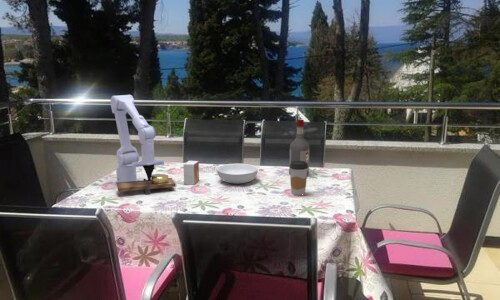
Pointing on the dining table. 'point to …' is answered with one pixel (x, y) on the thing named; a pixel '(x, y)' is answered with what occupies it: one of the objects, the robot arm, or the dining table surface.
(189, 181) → the small box
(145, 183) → the beam
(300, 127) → the liquor
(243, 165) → the serving bowl
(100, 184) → the dining table surface
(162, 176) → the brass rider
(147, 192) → the beam stand
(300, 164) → the coffee cup
